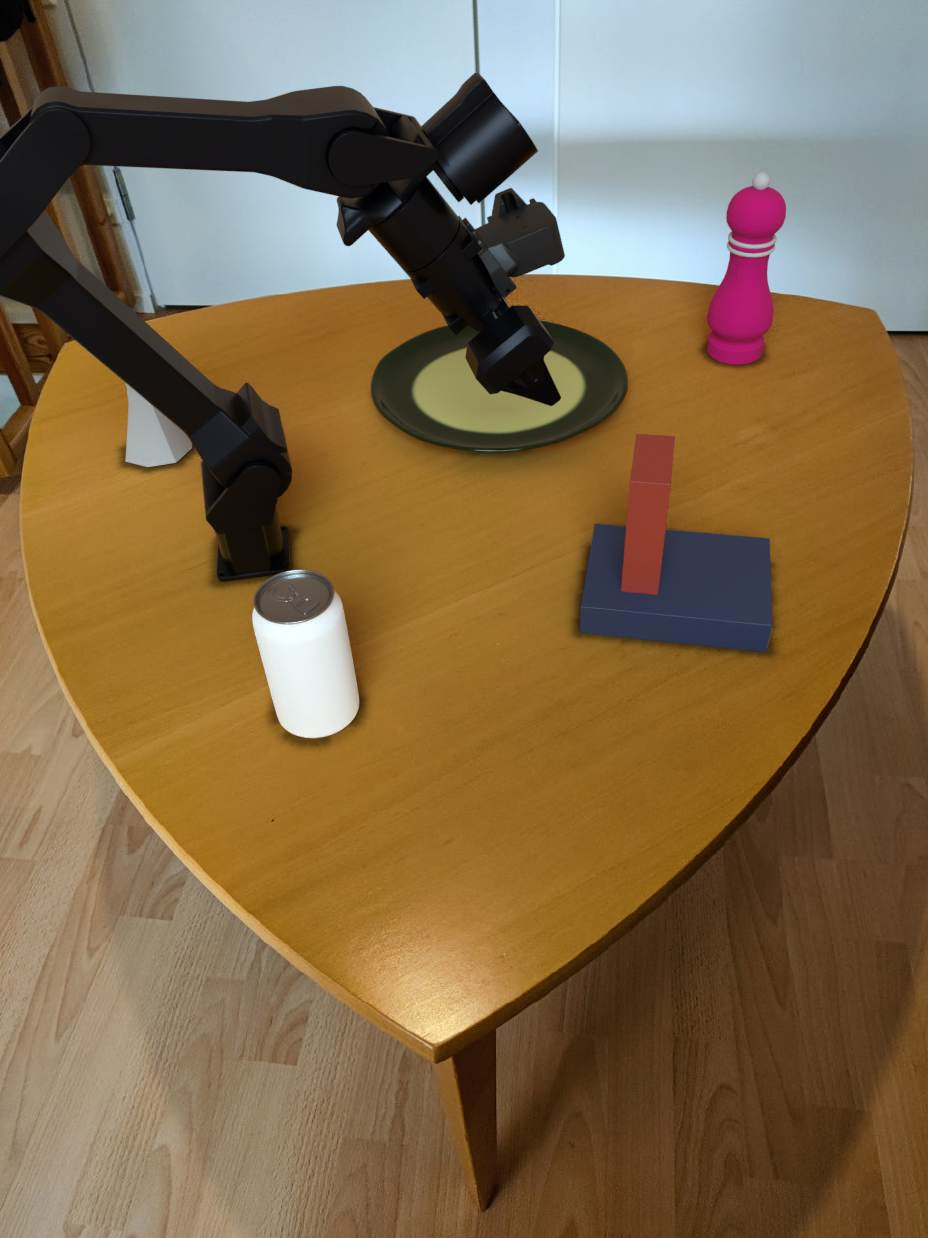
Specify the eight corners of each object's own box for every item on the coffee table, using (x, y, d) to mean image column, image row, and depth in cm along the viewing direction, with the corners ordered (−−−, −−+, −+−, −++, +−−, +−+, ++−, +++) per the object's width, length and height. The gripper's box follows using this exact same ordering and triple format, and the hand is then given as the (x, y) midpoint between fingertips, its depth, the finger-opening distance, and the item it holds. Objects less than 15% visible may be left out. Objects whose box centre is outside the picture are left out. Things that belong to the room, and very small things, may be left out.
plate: (337, 454, 103) (334, 434, 101) (411, 327, 122) (409, 308, 121) (608, 482, 97) (609, 461, 96) (640, 344, 117) (642, 324, 115)
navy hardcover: (579, 633, 82) (580, 606, 80) (593, 549, 90) (594, 523, 88) (767, 652, 80) (773, 625, 78) (764, 564, 88) (770, 538, 86)
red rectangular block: (620, 591, 81) (630, 481, 74) (627, 541, 86) (636, 433, 78) (657, 595, 81) (670, 484, 73) (662, 545, 85) (675, 435, 78)
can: (319, 667, 81) (295, 553, 73) (377, 703, 78) (359, 588, 69) (260, 715, 77) (227, 601, 69) (318, 755, 74) (292, 641, 66)
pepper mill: (689, 345, 116) (711, 167, 102) (741, 331, 118) (769, 154, 104) (726, 373, 111) (755, 190, 97) (779, 357, 113) (814, 176, 99)
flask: (202, 431, 107) (180, 346, 101) (182, 470, 102) (157, 383, 95) (138, 430, 108) (111, 345, 101) (114, 468, 103) (85, 382, 96)
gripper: (551, 216, 67) (657, 366, 77) (481, 130, 80) (580, 268, 90) (425, 324, 70) (543, 455, 80) (377, 223, 83) (484, 347, 93)
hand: (539, 374), depth 86 cm, fingers open, 9 cm apart
